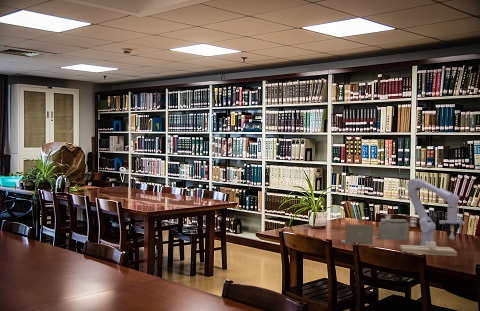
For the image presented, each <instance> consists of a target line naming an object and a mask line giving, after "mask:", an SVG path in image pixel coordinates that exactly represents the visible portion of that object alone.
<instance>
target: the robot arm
mask: <svg viewBox="0 0 480 311" xmlns="http://www.w3.org/2000/svg"><path fill="white" fill-rule="evenodd" d="M406 186H407V195H408V198H409V199H410V201H411V204H412V205H413V208H414V210H415V213H416V214H417V216H418V218H419V222H418V223H419V225H420V230H421V235H420V243H419V246H426V241H434V242H435V230H436V227H437V225H436V223H435V222H434V221H433V220H432V218H431V217H429V215H428V213H427V212H426V209H425V207H424V205H423V203H422V201H421V198H420V197H419V191H420V190H421V189H422V188H423V189H426V190H429V191H430V192H433V193H434V194H435V195H436V197H438V198H440V199H442V200H444V201H446V203H447V210H446V211H447V216H446V217H447V218H446V220H445V219H444V220H442V219H441V220H440V219H439V225H444V227H445V231H446V234H447V236H448V237H449V235H450V226H451V225H453V226H455V232H454V237H457V233H458V231H459V229H460V227H461V225H464V226H465V224H466V222H465V221H464V220H458V208H459V206H458V204H459V203H460V196H459V195H457V193H453V192H452V191H449V190H446V188H445V187H440V188H438V187H436V186H435V185H433V184H432V183H429V182H428V181H427V180H425V179H422V178H419V177H418V178H412V179H409V181H408V183H407V185H406Z"/></svg>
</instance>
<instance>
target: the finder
mask: <svg viewBox="0 0 480 311" xmlns="http://www.w3.org/2000/svg"><path fill="white" fill-rule="evenodd" d="M426 247H427V248H436V247H437V243H436V242H435V240H434V241H426Z"/></svg>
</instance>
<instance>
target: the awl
mask: <svg viewBox="0 0 480 311" xmlns="http://www.w3.org/2000/svg"><path fill="white" fill-rule="evenodd" d="M454 232H455V226H454V225H450V235H449V236H448V240H451V241H452V240H453V241H454V240H455V236H454Z"/></svg>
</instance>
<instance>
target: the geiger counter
mask: <svg viewBox="0 0 480 311" xmlns="http://www.w3.org/2000/svg"><path fill="white" fill-rule="evenodd" d="M378 225H379V226H378V227H376V228H373V232H375V230H377V229H378V233H373V236H376V237H378V239H379V240H399V241H400V240H402V241H403V240H405V241H406V240H407V241H408V240H409V239H410V238H409V236H410V235H409V232H410V223H409V222H408V220H407V219H404V218H401V219H399V218H395V219H393V218H380V222H379V224H378Z"/></svg>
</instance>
